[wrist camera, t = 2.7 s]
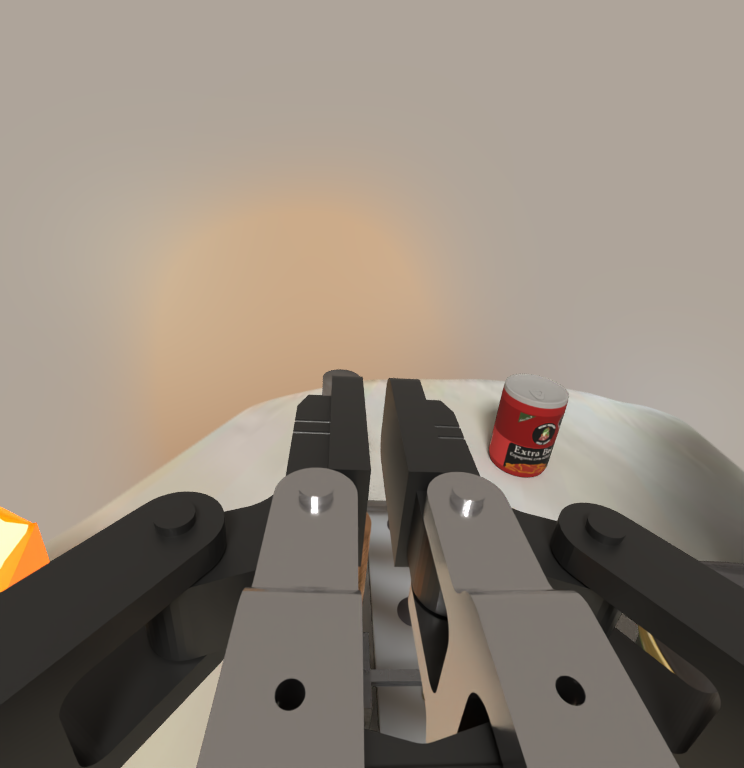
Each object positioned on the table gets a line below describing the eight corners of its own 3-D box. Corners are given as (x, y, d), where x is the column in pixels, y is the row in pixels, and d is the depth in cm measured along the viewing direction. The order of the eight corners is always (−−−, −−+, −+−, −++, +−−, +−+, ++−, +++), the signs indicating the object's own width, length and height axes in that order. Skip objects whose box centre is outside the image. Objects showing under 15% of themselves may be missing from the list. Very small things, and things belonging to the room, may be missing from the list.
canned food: (503, 481, 57) (524, 405, 52) (477, 444, 64) (494, 373, 59) (558, 477, 59) (583, 402, 54) (527, 441, 66) (547, 372, 61)
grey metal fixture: (308, 511, 50) (312, 363, 42) (428, 514, 51) (454, 370, 43) (282, 807, 28) (280, 615, 20) (494, 799, 29) (575, 615, 21)
